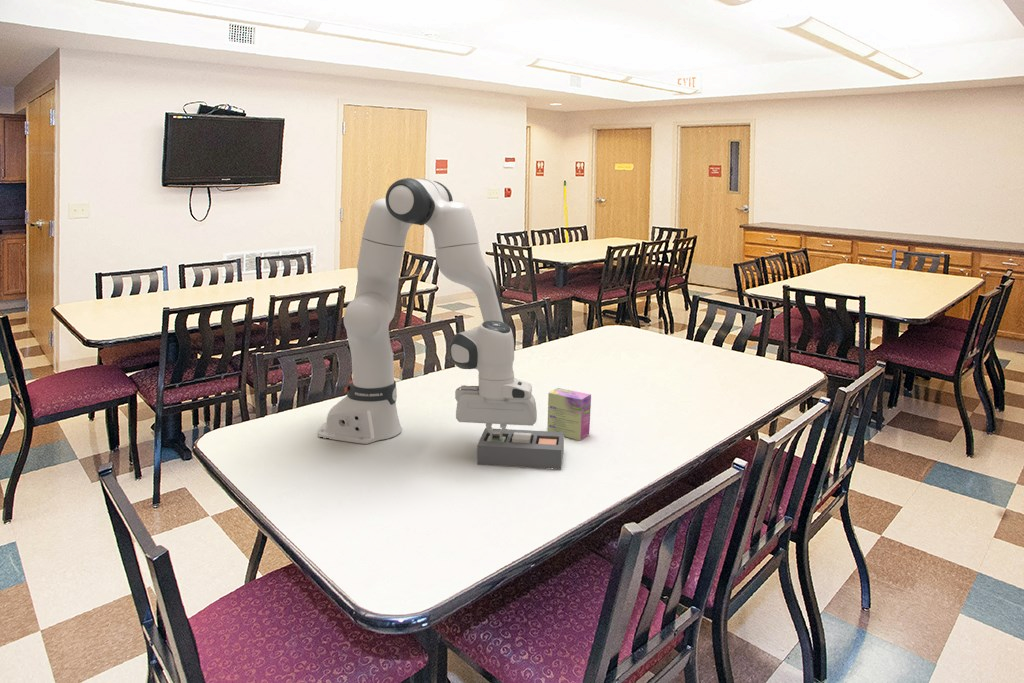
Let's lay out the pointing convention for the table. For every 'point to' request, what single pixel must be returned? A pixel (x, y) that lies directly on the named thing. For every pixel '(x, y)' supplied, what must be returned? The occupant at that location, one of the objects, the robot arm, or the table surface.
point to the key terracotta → (548, 441)
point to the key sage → (497, 440)
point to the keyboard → (521, 450)
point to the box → (569, 413)
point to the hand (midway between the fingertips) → (496, 439)
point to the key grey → (521, 438)
